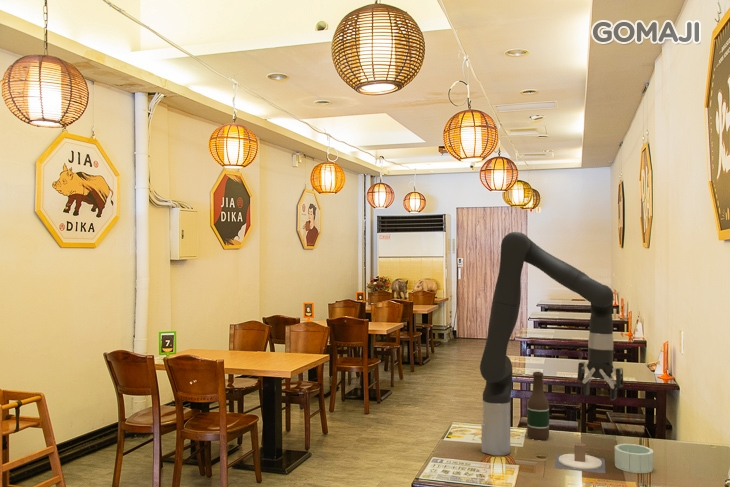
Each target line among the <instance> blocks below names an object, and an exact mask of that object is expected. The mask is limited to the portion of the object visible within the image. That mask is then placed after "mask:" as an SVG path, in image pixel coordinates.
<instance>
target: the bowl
mask: <svg viewBox="0 0 730 487" xmlns="http://www.w3.org/2000/svg"><path fill="white" fill-rule="evenodd" d="M614 466H615V468H617V469H618V470H621V471H623V472H627V473H633V474H647V473H648V474H649V473H651V472H653V471H654V450H653V448H650V447H647V446H644V445H641V444H633V443H620V444H617V445H616V444H615V445H614Z"/></svg>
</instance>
